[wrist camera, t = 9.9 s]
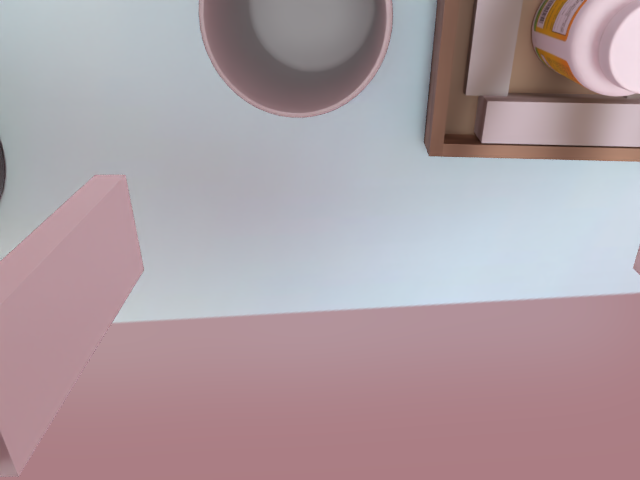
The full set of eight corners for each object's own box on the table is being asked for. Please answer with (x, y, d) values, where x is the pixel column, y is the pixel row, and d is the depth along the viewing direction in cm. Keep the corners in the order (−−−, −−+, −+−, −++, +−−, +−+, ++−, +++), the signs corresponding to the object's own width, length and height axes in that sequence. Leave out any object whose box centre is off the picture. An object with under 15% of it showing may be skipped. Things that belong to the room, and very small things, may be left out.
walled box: (424, 141, 36) (429, 157, 33) (447, -106, 30) (457, -113, 27) (671, 147, 35) (699, 164, 32) (750, -106, 29) (794, -114, 26)
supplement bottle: (626, 61, 32) (722, 96, 24) (532, 82, 33) (593, 122, 25) (626, -37, 30) (734, -39, 21) (526, -13, 31) (590, -5, 22)
